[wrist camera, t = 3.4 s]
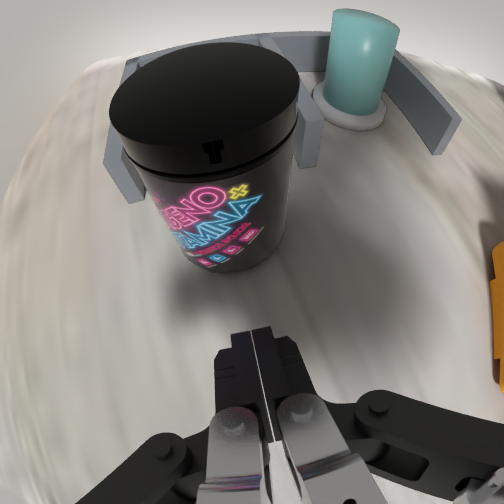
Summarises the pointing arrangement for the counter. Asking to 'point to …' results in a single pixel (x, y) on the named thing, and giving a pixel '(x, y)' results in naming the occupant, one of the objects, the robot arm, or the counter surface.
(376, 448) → the robot arm
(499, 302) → the bracket
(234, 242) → the supplement container
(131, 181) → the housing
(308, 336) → the counter surface
